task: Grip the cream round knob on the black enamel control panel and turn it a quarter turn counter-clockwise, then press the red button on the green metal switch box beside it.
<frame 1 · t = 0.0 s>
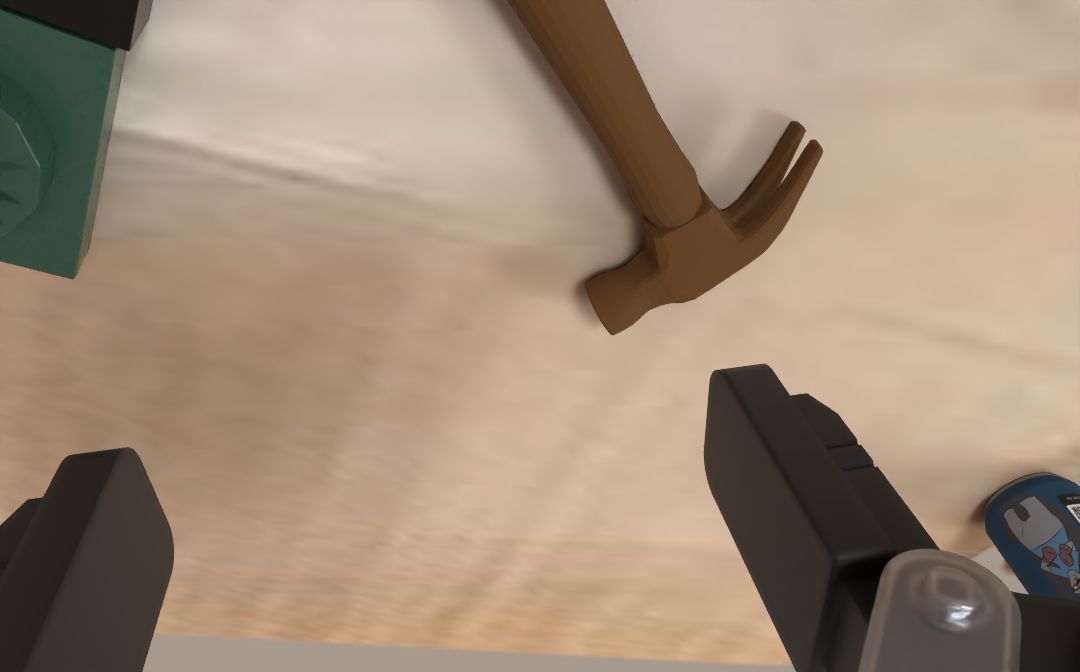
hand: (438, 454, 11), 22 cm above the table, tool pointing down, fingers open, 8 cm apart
soda can: (1020, 495, 58), on the table
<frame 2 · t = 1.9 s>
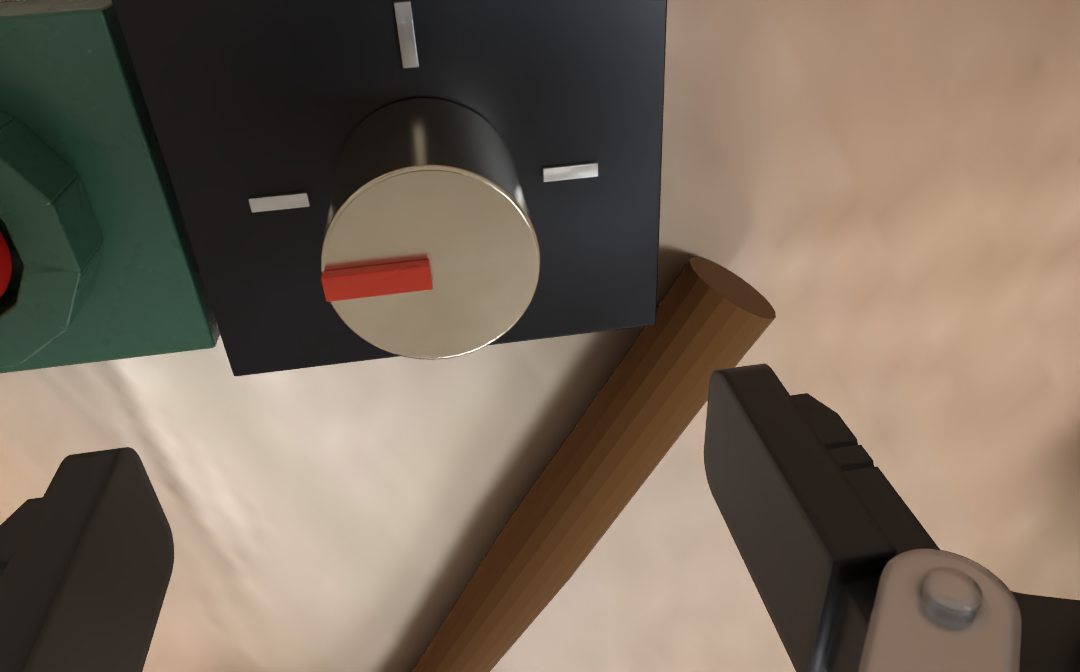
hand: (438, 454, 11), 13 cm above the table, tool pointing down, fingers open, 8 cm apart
dial: (430, 226, 18), point 5 cm above the table, hinge at 0.0°
hammer: (519, 565, 32), on the table
panel: (424, 144, 22), on the table
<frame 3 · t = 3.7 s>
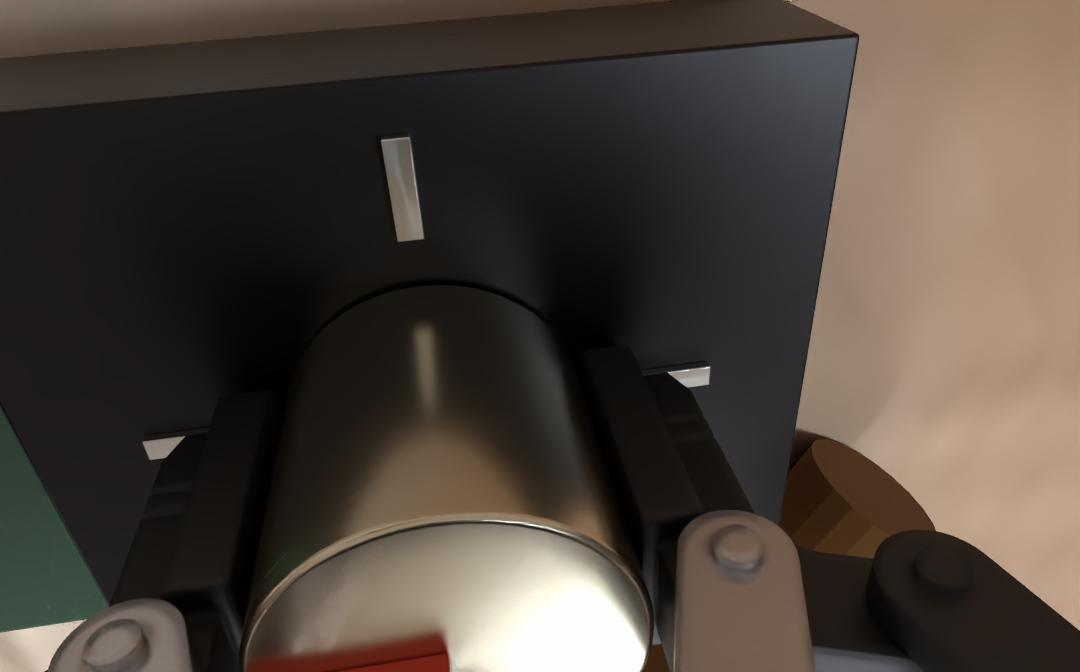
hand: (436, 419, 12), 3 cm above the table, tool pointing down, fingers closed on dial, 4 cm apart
dial: (445, 522, 10), point 5 cm above the table, hinge at 0.1°, touching gripper
panel: (430, 307, 15), on the table
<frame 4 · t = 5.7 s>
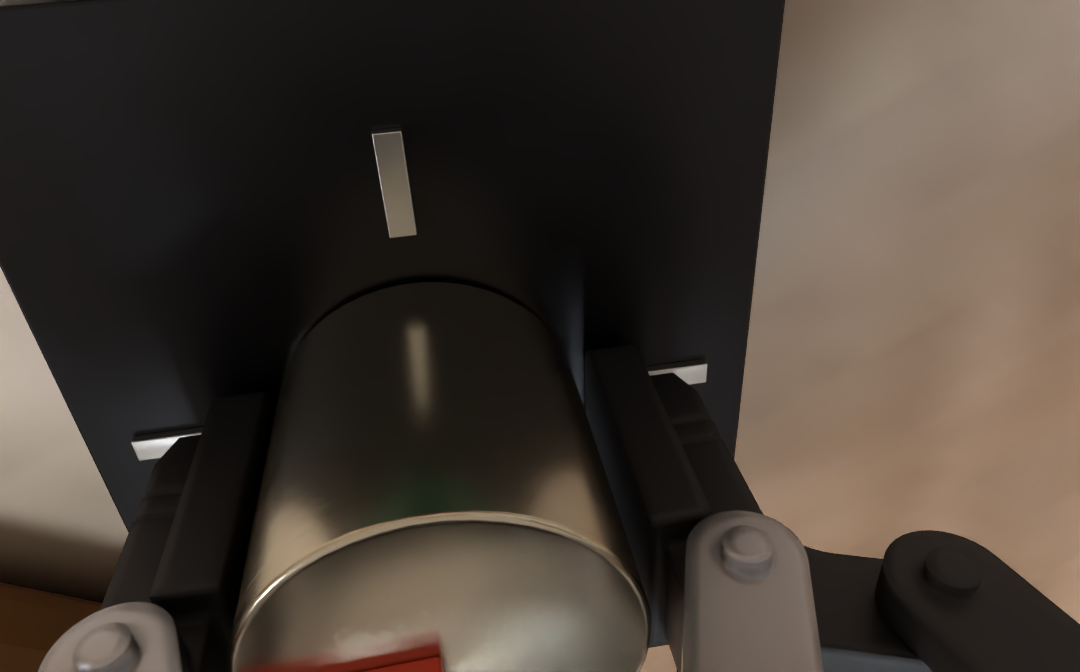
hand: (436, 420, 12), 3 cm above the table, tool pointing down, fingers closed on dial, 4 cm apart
dial: (439, 522, 10), point 5 cm above the table, hinge at 92.6°, touching gripper
panel: (424, 305, 15), on the table
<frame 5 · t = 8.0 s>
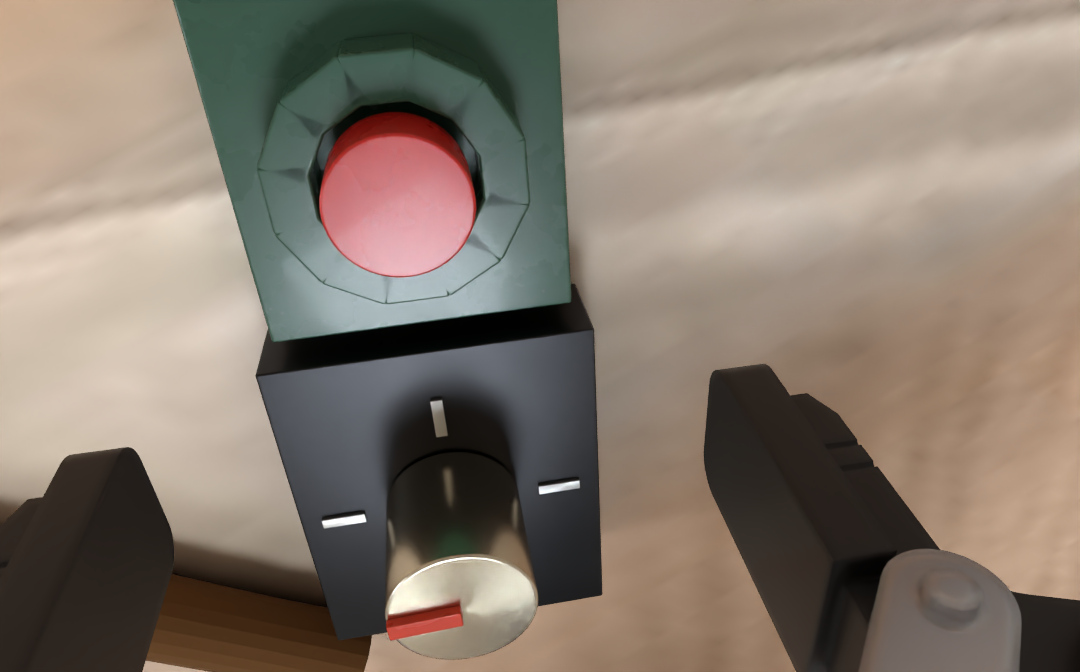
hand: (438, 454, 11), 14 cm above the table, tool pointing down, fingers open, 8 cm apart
dial: (458, 555, 24), point 5 cm above the table, hinge at 92.6°
switchbox: (398, 137, 23), on the table
button: (398, 195, 19), point 5 cm above the table, slide at 0.2 cm
panel: (447, 444, 29), on the table
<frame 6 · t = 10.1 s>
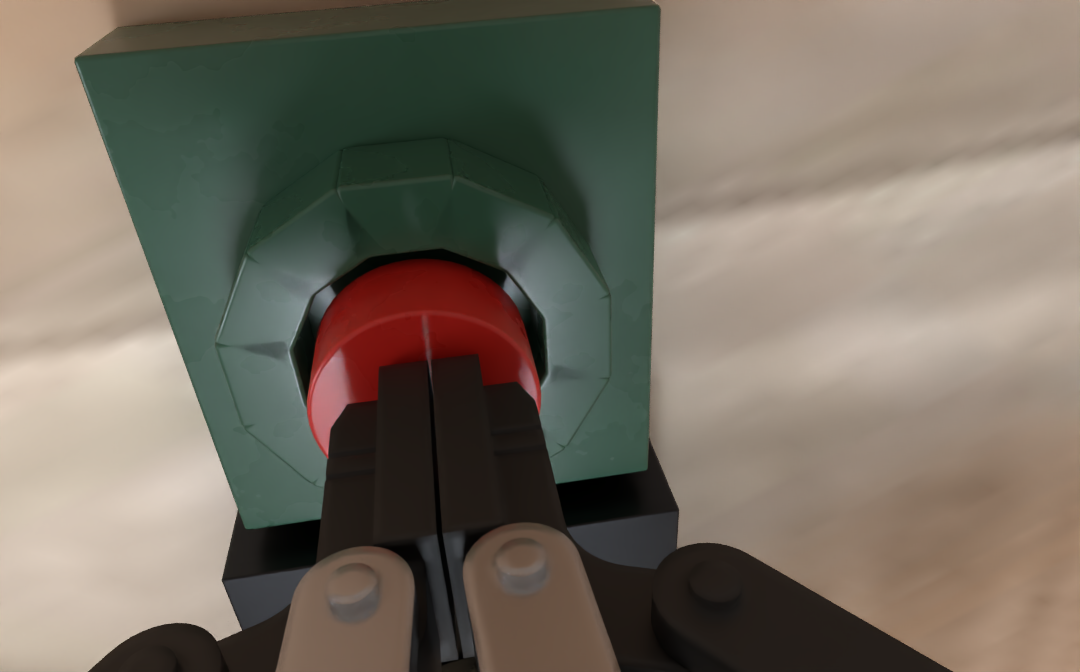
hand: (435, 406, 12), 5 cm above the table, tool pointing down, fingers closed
switchbox: (418, 256, 17), on the table
button: (425, 379, 13), point 4 cm above the table, slide at 0.1 cm, touching gripper
panel: (473, 609, 23), on the table
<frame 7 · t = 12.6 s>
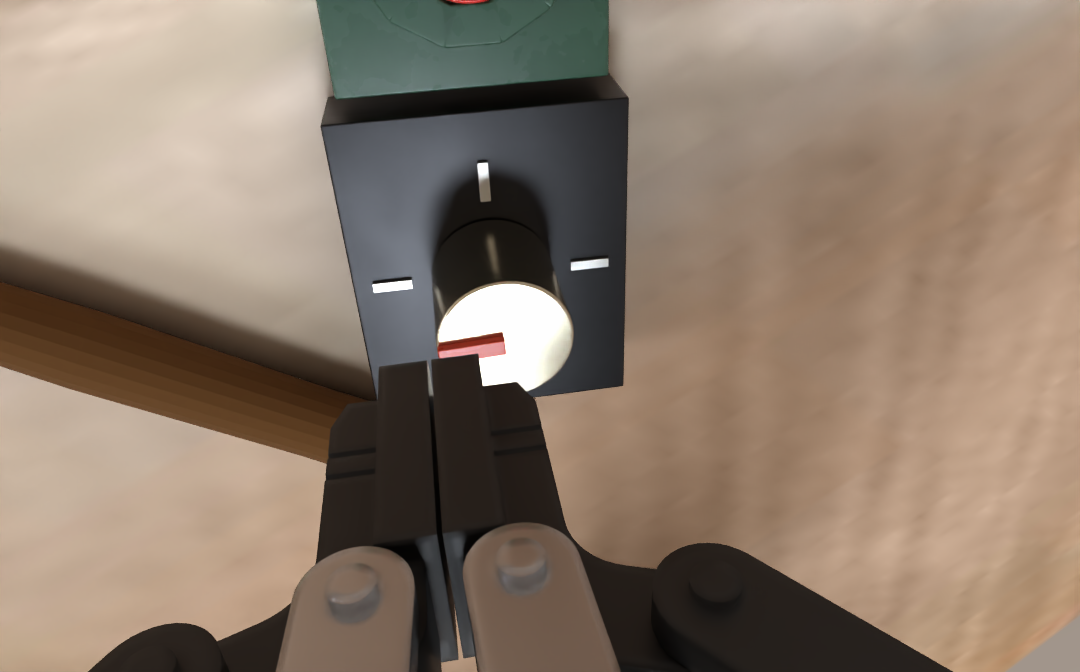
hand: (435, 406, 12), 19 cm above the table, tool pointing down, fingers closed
dial: (499, 308, 27), point 5 cm above the table, hinge at 92.6°
hammer: (24, 319, 31), on the table
panel: (484, 236, 31), on the table
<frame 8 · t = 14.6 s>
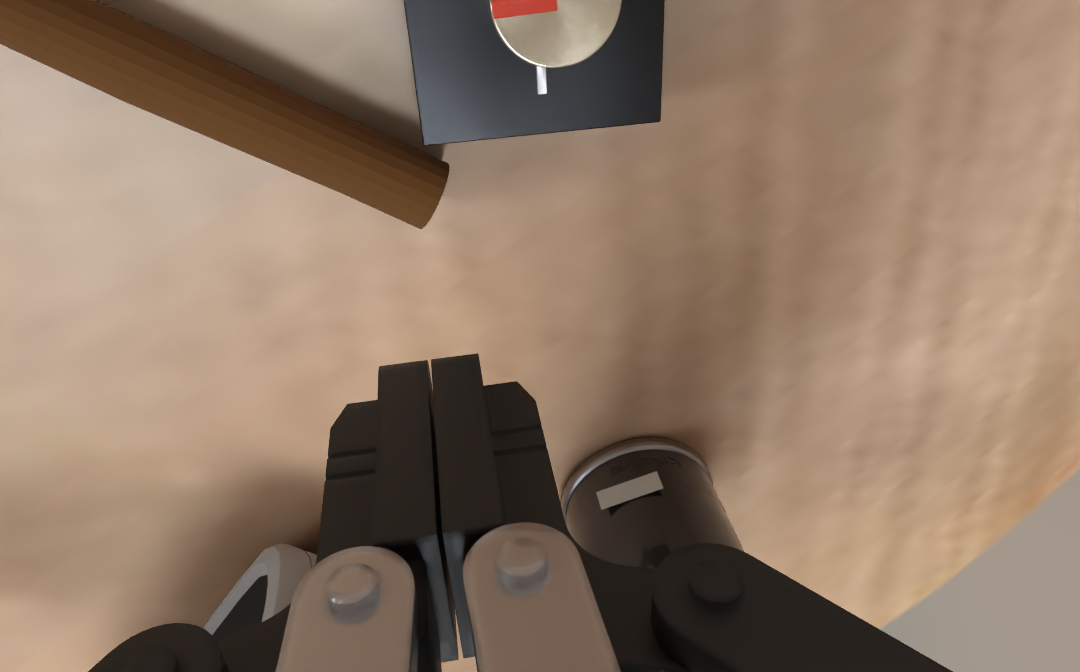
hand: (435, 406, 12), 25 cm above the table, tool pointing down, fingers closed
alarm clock: (284, 621, 51), on the table
hammer: (77, 42, 31), on the table
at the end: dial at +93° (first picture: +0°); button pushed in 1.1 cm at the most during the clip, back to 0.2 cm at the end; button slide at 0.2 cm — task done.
